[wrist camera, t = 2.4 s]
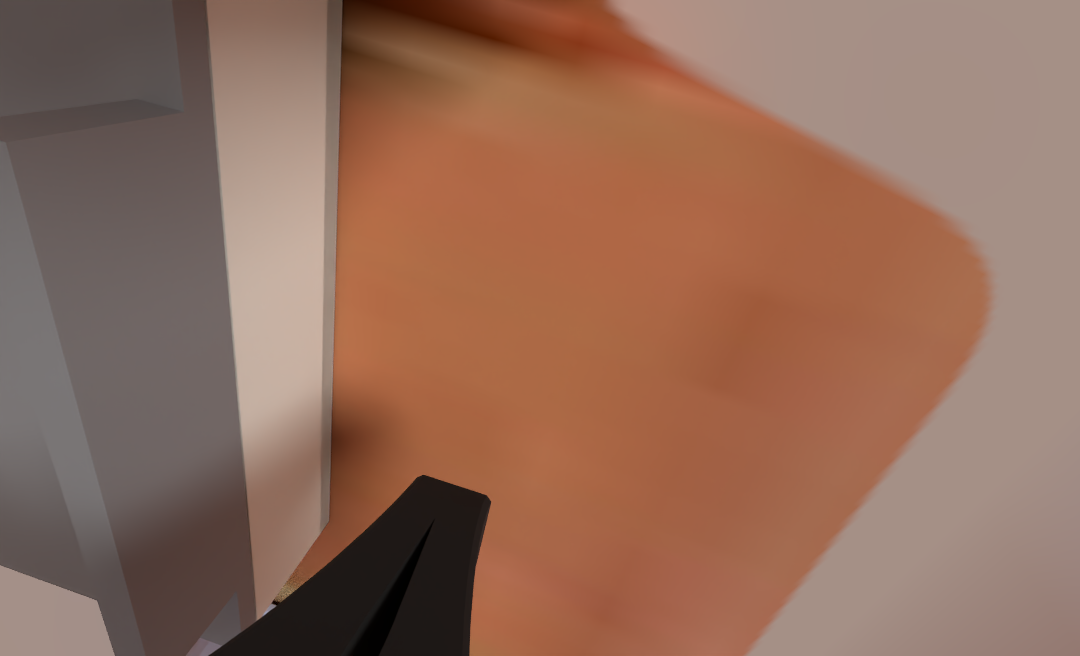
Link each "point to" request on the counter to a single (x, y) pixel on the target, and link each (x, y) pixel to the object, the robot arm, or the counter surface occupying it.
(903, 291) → the counter surface
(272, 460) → the mailer box
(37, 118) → the lid
